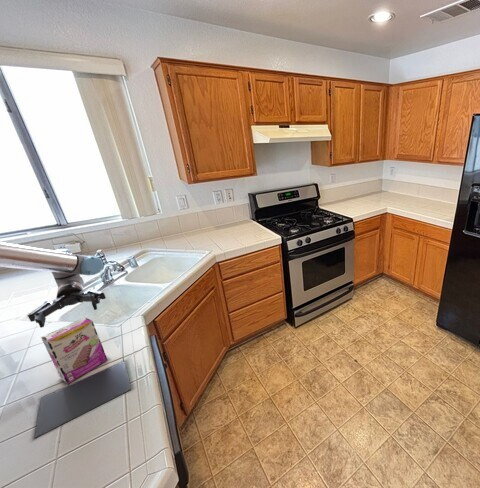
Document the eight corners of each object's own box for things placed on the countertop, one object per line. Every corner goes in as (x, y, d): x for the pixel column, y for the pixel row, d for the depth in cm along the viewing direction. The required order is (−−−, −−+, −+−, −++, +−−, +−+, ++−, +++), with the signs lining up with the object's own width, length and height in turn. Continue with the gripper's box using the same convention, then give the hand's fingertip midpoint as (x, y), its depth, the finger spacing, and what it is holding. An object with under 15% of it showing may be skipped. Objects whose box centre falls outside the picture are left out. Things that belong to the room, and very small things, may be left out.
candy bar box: (68, 385, 80) (46, 341, 75) (60, 380, 83) (39, 337, 77) (109, 360, 90) (92, 319, 84) (101, 355, 92) (84, 316, 87)
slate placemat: (34, 438, 65) (34, 437, 65) (41, 398, 76) (41, 397, 76) (131, 389, 77) (130, 389, 77) (124, 361, 89) (124, 360, 89)
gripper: (112, 289, 113) (117, 308, 98) (29, 314, 98) (20, 341, 82) (106, 274, 110) (110, 291, 95) (20, 297, 95) (9, 321, 80)
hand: (68, 314), depth 89 cm, fingers open, 13 cm apart
